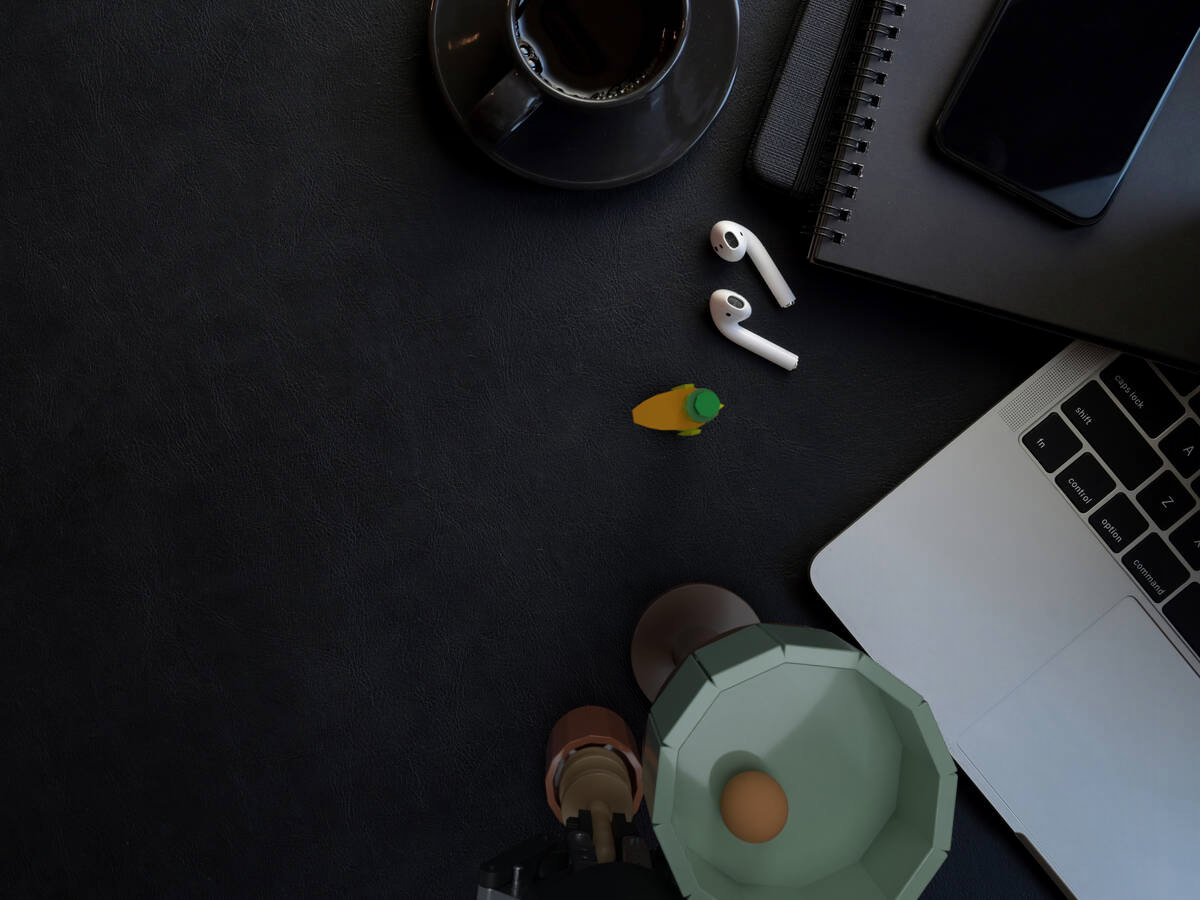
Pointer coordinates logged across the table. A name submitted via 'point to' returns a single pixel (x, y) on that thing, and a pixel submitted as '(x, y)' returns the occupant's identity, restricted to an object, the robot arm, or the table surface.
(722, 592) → the brown pedestal stand
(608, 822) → the beige plunger
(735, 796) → the ball
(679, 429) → the toy figure
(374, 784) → the table surface
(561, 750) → the holder
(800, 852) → the green bowl
